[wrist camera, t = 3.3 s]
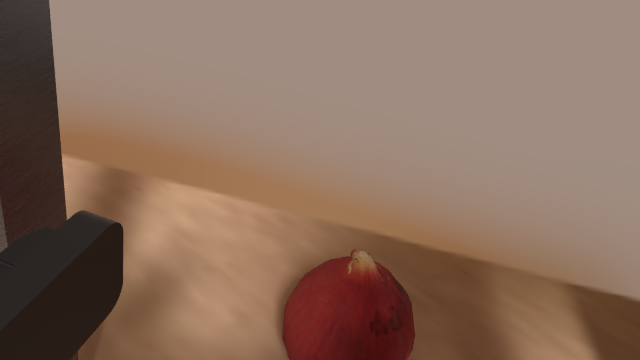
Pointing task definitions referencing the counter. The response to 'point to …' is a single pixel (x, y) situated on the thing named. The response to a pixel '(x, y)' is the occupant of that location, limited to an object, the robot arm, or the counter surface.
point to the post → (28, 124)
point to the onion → (349, 313)
